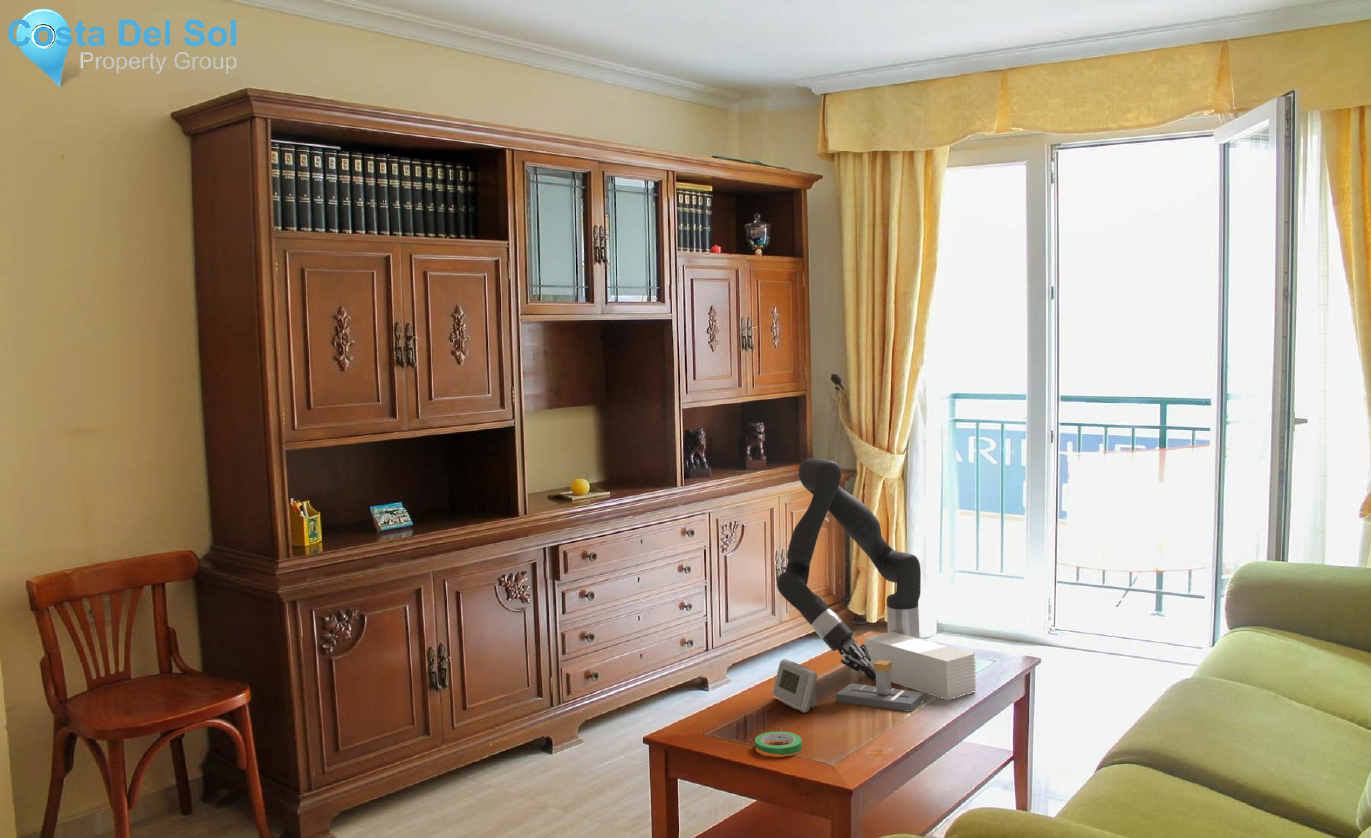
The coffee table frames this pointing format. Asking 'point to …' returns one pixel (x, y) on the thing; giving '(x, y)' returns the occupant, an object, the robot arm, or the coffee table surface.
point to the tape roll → (781, 749)
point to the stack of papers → (924, 664)
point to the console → (880, 697)
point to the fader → (883, 676)
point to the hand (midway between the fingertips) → (876, 678)
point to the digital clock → (796, 685)
